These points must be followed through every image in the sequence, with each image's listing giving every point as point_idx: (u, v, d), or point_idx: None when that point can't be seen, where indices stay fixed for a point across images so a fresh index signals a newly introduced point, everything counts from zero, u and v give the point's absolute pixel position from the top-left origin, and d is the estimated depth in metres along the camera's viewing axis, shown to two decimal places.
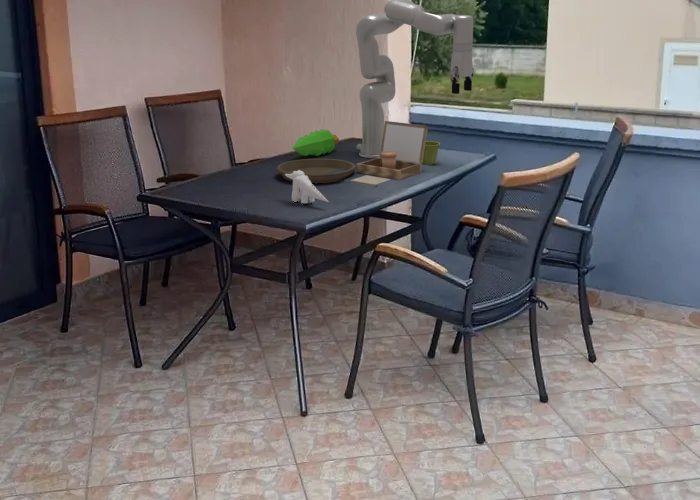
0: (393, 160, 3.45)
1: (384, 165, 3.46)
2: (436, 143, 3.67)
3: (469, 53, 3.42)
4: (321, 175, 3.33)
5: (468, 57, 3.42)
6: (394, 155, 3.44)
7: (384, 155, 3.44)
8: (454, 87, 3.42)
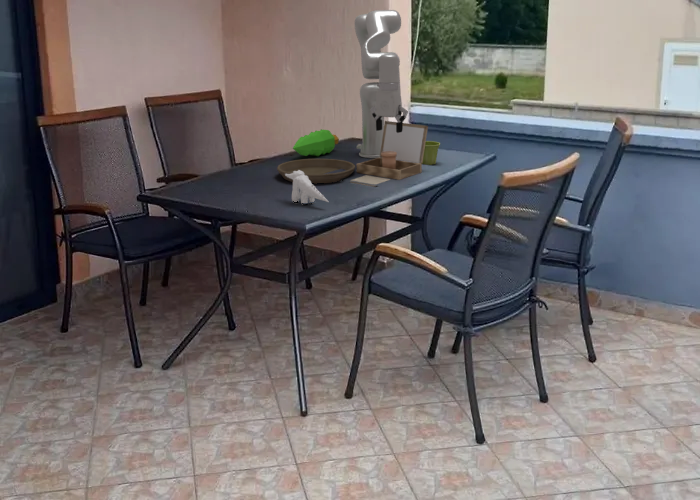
0: (393, 160, 3.45)
1: (384, 165, 3.46)
2: (436, 143, 3.67)
3: None
4: (321, 175, 3.33)
5: None
6: (394, 155, 3.44)
7: (384, 155, 3.44)
8: (401, 126, 3.38)
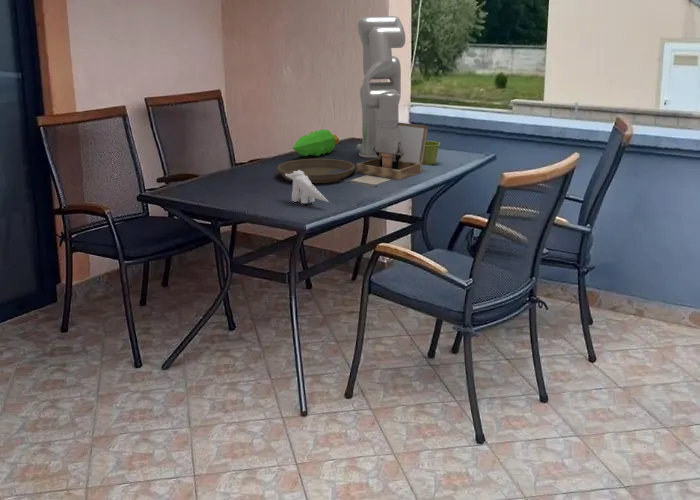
0: None
1: (384, 165, 3.46)
2: (436, 143, 3.67)
3: None
4: (321, 175, 3.33)
5: None
6: None
7: (384, 155, 3.44)
8: (397, 164, 3.45)
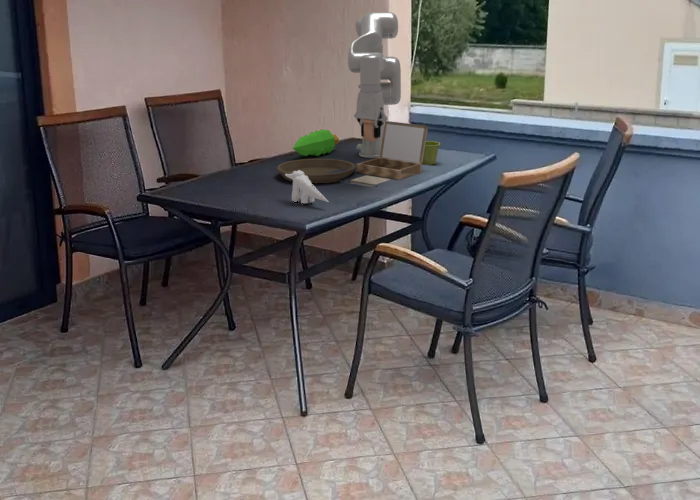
0: None
1: (365, 132, 3.30)
2: (436, 143, 3.67)
3: None
4: (321, 175, 3.33)
5: None
6: None
7: (365, 121, 3.28)
8: (379, 131, 3.29)
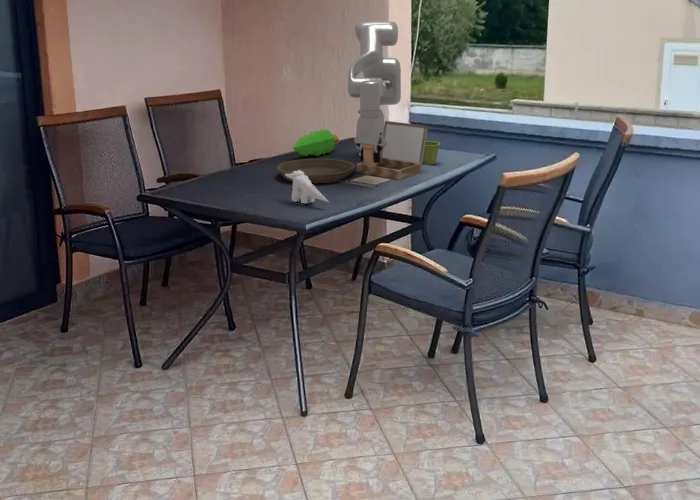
0: (374, 151, 3.31)
1: (365, 156, 3.32)
2: (436, 143, 3.67)
3: None
4: (321, 175, 3.33)
5: None
6: None
7: (365, 146, 3.30)
8: (378, 156, 3.32)
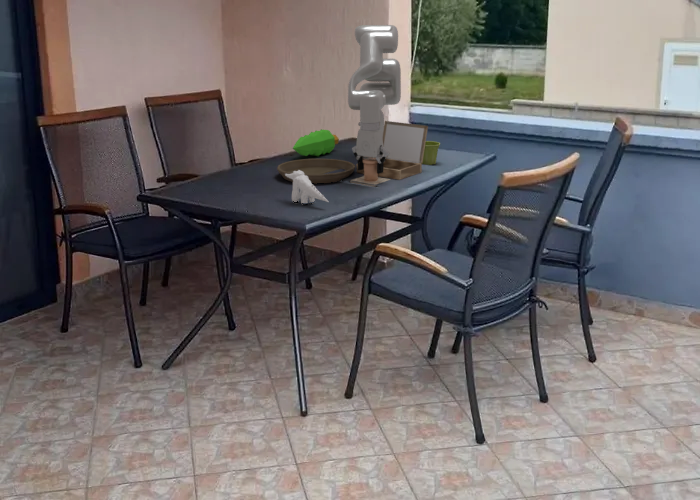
0: (375, 167, 3.33)
1: (366, 172, 3.34)
2: (436, 143, 3.67)
3: None
4: (321, 175, 3.33)
5: None
6: (376, 162, 3.33)
7: (366, 162, 3.32)
8: (382, 166, 3.32)
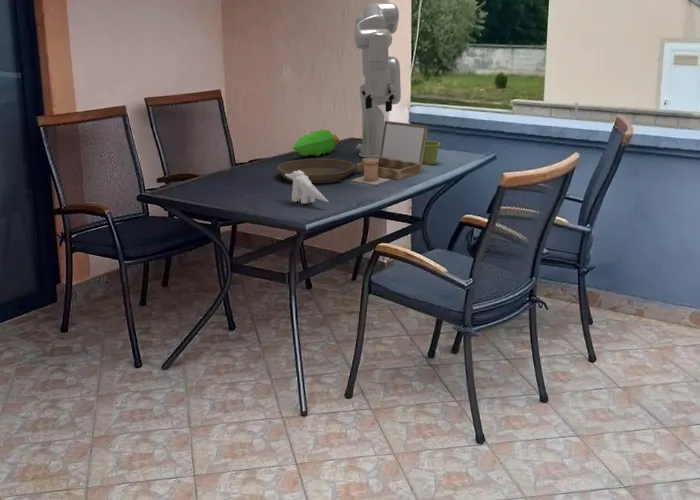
0: (375, 167, 3.33)
1: (366, 172, 3.34)
2: (436, 143, 3.67)
3: None
4: (321, 175, 3.33)
5: None
6: (376, 162, 3.33)
7: (366, 162, 3.32)
8: (390, 105, 3.35)
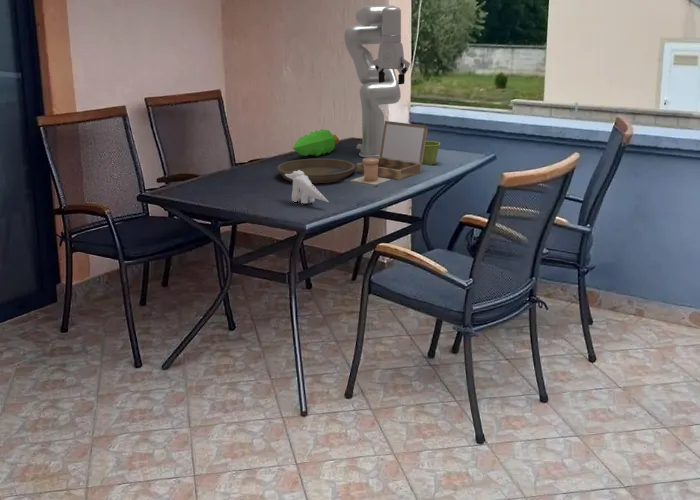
0: (375, 167, 3.33)
1: (366, 172, 3.34)
2: (436, 143, 3.67)
3: None
4: (321, 175, 3.33)
5: None
6: (376, 162, 3.33)
7: (366, 162, 3.32)
8: (403, 77, 3.47)
